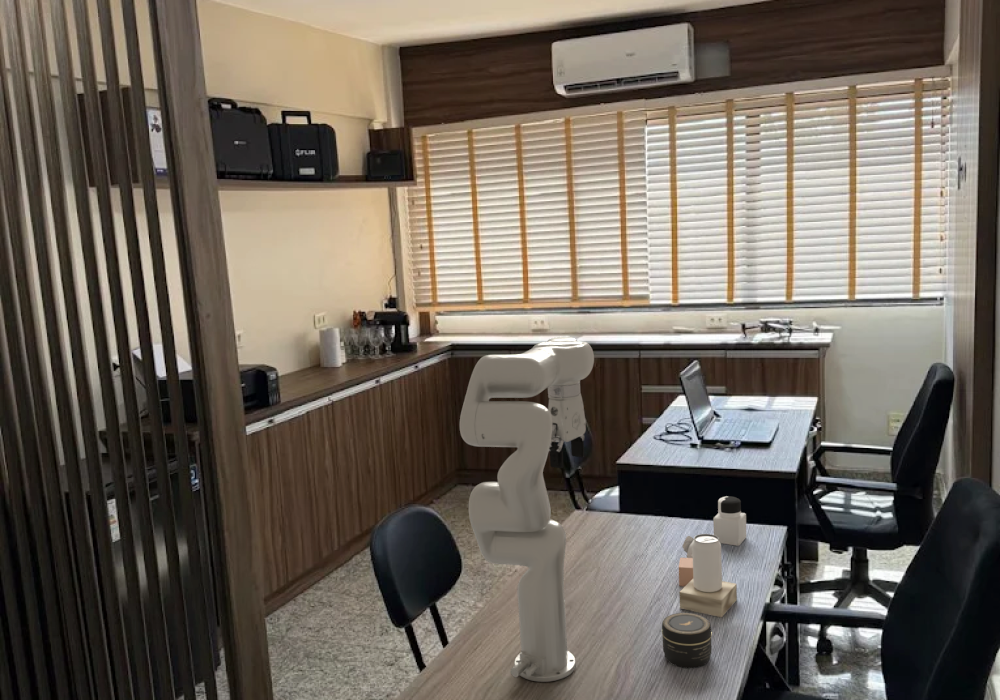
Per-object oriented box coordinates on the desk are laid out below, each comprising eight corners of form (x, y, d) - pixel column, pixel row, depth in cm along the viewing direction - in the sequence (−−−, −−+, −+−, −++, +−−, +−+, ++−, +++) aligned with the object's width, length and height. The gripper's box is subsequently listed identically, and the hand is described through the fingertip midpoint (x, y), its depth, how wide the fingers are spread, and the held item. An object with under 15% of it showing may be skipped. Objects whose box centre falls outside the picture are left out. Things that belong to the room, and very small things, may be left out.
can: (688, 584, 200) (686, 535, 198) (713, 579, 201) (711, 531, 200) (702, 595, 194) (700, 545, 192) (727, 590, 195) (726, 540, 194)
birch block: (721, 617, 191) (721, 600, 190) (679, 608, 197) (679, 591, 196) (736, 599, 199) (736, 583, 198) (696, 591, 205) (695, 575, 204)
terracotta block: (704, 587, 207) (703, 568, 206) (679, 586, 209) (678, 567, 208) (705, 577, 213) (704, 558, 212) (680, 576, 214) (680, 557, 213)
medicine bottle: (746, 537, 236) (746, 496, 235) (739, 546, 231) (738, 504, 229) (721, 533, 240) (720, 493, 238) (713, 542, 234) (712, 500, 233)
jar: (721, 656, 175) (721, 621, 173) (694, 675, 168) (693, 639, 167) (681, 640, 182) (680, 607, 181) (653, 659, 175) (651, 624, 174)
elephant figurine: (723, 561, 221) (723, 535, 220) (704, 573, 215) (704, 547, 213) (697, 555, 227) (696, 529, 226) (678, 566, 220) (677, 540, 219)
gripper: (559, 399, 188) (562, 473, 190) (596, 384, 202) (599, 454, 204) (530, 397, 192) (534, 469, 195) (568, 382, 206) (572, 450, 209)
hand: (567, 461), depth 200 cm, fingers open, 9 cm apart
